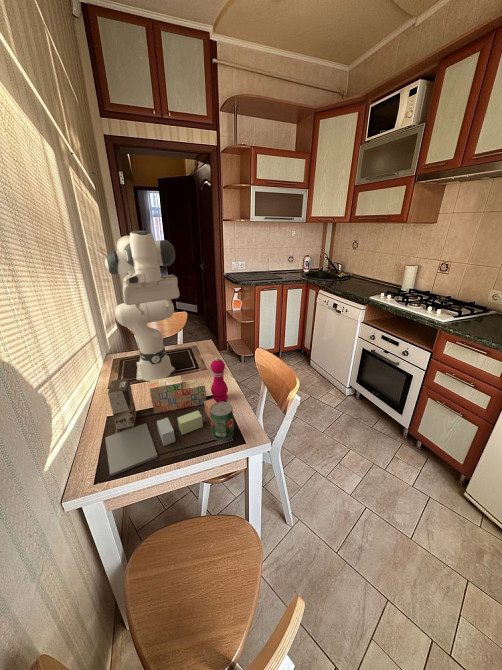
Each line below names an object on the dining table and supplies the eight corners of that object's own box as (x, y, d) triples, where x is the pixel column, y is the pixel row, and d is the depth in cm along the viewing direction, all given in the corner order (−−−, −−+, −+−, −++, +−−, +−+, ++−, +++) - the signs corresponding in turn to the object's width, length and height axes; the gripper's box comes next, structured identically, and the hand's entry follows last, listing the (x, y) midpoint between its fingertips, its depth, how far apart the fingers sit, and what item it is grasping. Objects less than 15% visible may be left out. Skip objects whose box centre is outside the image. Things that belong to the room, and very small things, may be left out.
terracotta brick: (212, 423, 104) (211, 412, 102) (205, 411, 110) (204, 401, 108) (222, 419, 106) (221, 408, 104) (214, 408, 112) (213, 398, 110)
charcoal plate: (105, 439, 97) (105, 437, 96) (146, 425, 103) (146, 423, 103) (110, 476, 82) (109, 474, 82) (157, 457, 89) (157, 455, 88)
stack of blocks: (205, 396, 120) (202, 371, 116) (207, 404, 115) (204, 379, 110) (154, 404, 115) (150, 379, 110) (153, 413, 109) (149, 387, 105)
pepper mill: (214, 405, 114) (211, 362, 106) (209, 395, 120) (206, 355, 113) (230, 400, 117) (228, 359, 109) (225, 391, 123) (222, 352, 115)
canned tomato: (209, 428, 101) (207, 404, 97) (230, 423, 103) (228, 399, 99) (215, 443, 94) (212, 417, 90) (236, 437, 96) (235, 412, 92)
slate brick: (164, 446, 93) (161, 434, 91) (158, 432, 100) (156, 421, 98) (175, 441, 95) (173, 430, 93) (169, 428, 102) (167, 417, 100)
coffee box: (134, 426, 103) (126, 390, 97) (116, 430, 101) (106, 393, 95) (136, 411, 111) (129, 377, 105) (119, 414, 109) (111, 380, 103)
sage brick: (178, 428, 101) (177, 417, 100) (199, 420, 105) (198, 410, 103) (182, 435, 98) (180, 423, 96) (203, 426, 102) (201, 416, 100)
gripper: (174, 273, 108) (179, 307, 113) (118, 279, 99) (126, 316, 103) (178, 274, 103) (183, 309, 107) (120, 280, 94) (128, 319, 98)
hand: (155, 313), depth 105 cm, fingers open, 8 cm apart
